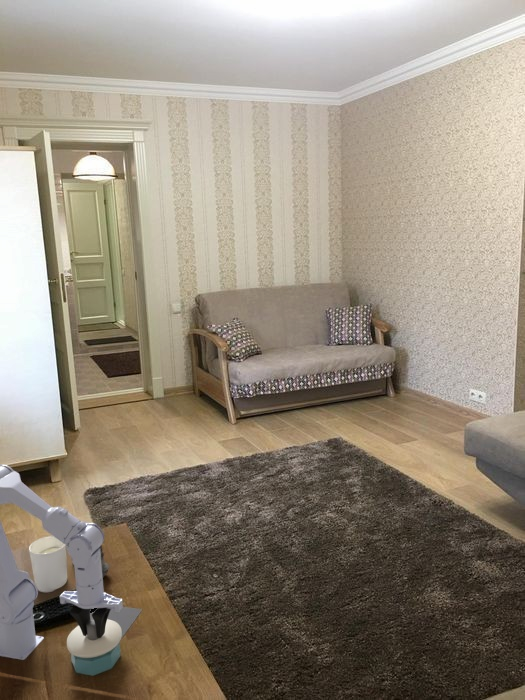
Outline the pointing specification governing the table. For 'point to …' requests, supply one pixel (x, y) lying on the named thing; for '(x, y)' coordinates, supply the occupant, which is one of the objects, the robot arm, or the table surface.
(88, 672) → the bowl
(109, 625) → the lid
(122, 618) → the mat
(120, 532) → the table surface
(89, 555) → the robot arm
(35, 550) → the candle holder
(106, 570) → the salt shaker
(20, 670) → the table surface
